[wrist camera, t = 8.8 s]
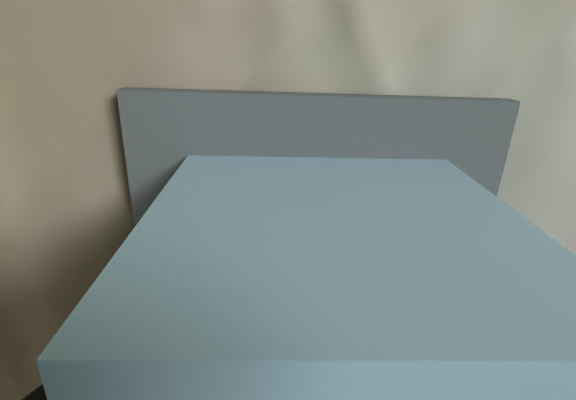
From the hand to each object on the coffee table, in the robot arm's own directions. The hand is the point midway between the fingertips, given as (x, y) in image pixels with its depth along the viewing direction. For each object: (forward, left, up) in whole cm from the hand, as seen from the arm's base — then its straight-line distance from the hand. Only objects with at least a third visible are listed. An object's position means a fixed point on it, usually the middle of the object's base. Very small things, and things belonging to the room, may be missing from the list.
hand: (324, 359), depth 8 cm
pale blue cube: (0, 0, -4) cm, 4 cm away
